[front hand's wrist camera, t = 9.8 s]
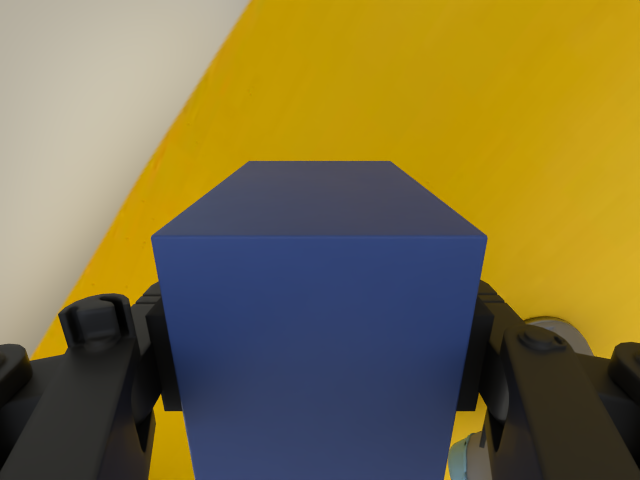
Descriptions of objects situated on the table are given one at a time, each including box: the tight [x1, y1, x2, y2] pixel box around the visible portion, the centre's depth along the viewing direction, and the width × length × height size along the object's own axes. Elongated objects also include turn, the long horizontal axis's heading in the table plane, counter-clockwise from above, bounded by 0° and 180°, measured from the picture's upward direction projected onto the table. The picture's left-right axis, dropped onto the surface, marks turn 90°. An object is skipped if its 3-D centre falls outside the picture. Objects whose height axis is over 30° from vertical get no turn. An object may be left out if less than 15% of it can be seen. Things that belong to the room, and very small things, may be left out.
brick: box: [151, 161, 487, 480], centre depth 12 cm, size 6×7×9 cm
